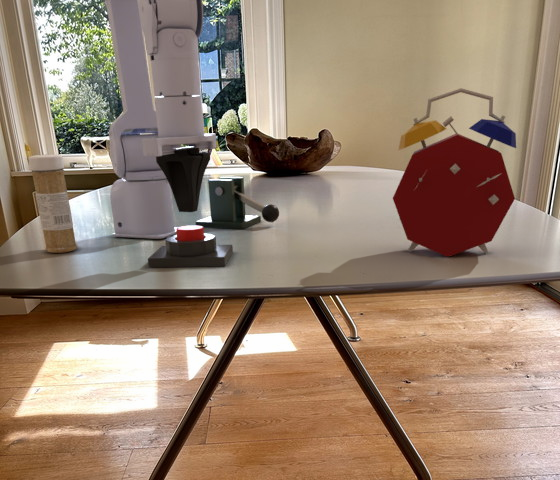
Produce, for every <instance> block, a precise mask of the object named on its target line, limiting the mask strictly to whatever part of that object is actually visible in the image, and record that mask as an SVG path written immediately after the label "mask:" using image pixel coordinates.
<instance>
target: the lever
mask: <svg viewBox="0 0 560 480" xmlns="http://www.w3.org/2000/svg"><path fill="white" fill-rule="evenodd" d="M222 180H227V179H222ZM237 188H238V185H236V184H234V196H235V198H236V199H238V200H239V201H241V202H243V203H245V205H246V206H248V207H250V208H252V209H254V210H256V211H257V212H259V213H261V218H262V219H263V220H264V221H265V222H267V223H274V222H276V221H277V220H278V219H279V217H280V210H279V208H278V207H277V205H275V204H272V203H270V204H266V205H264V204H262V203H260V202H259V201H257V200H254V199H253V198H251V197H250V196H247V195H245V193H244V194H242V193H240V192H238V191H237Z"/></svg>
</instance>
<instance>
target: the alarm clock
mask: <svg viewBox="0 0 560 480" xmlns="http://www.w3.org/2000/svg"><path fill="white" fill-rule="evenodd" d="M459 93H462V94H465V95H469V96H473V97H476V98H480V99H484V100H487V101H488V116H489V117H491V118H493V119H495V120H493V119H485V118H481V119H480V120H478V121H477V122H475V123H474V124H473V125H471V126H470V127H468V129H469V130H471V131H473V132H476V133H478V134H480V135H483V136H485V137H487V138H490V139H489V140H488V142H487V144H484V143H481V142H479V141H476V140H475V139H472V138H469V137H467V136H465V135H462V134H459V133H458V132H457V130H456V129H455V128H454V126H453V125H452V124H451V123H452V122H453V121H454V118H453V116H451V115H450V116H449V117H448V118H446V120H444V121H443V122H442V123H440V122H439V121H438V120H436V119H434V120H429V121H425V120H427V119H429V118H430V117H431V108H432V103H433V102H436V101H439V100H442V99H445V98H448V97H451V96H454V95H457V94H459ZM493 109H494V96H491V95H487V94H484V93H480V92H476V91H473V90H469V89H466V88H462V87H461V88H457V89H454V90H452V91H449V92H445V93H443V94H440V95H437V96H434V97H431V98H428V99H427V106H426V112H425V115H423V117H421V118H420V119H419V120H418V117H415V118H413V122H414V123H413V124H412V127H410V128H409V129H407V130H406V131H405V132H404V133H403V134H401V136H400V141H399V145H398V149H397V150H398V151H401V150H403V149H406V148H408V147H411V146H413V145H415V144H418V143H420V142H421V146H422V147H421V148H420V149H417V150H414V151H413V152H412V154H411V157H410V158H409V161H408V163H407V166H406V168H405V170H404V172H403V174H402V176H401V179H400V180H399V183H398V185H397V188H396V190H395V191H394V194H393V196H392V200H393V201H392V202H393V203H394V206H395V209H396V211H397V215H398V217H399V220H400V223H401V225H402V228H403V232H404V234H405V236H406V239H407V240H408V241H409V242H411V243H410V245H409V246H408V249H407V250H408V252H409V253H410V252H413V251H414V250H415V249H416V248H417V247H418V246H421V247H424V248H426V249H427V250H430V251H432V252H435V253H437V254H440V255H441V256H444V257H446V258H449V257H451V256H455V255H457V254H459V253H463V252H465V251H468V250H471V249H474V248H477V247H478V248H479V249H480V250H481V251H482V253H483V254H488V252H489V250H488V248H487V245H486V244H487V243H491V242H492V241H493V240H494V238H495V236H496V234H497V232H498V231H499V228H500V226H502V223H503V221H504V219H505V218H506V216H507V214H508V212H509V211H510V209H511V207H512V205H513V203H514V201H515V200H516V197H515V194H514V191H513V188H512V184H511V181H510V178H509V174H508V170H507V168H506V165H505V161H504V157H503V154H502V152H500V151H499V150H497V149H495V148H494V147H491V146H492V144H493V142H494V141H496V142H499V143H502V144H503V145H506V146H509V147H510V148H514V149H517V133H516V132H515V131H513V129H511V128H510V127H509V126H508V125H506V121H504V120H505V119H506V116H505V115H501V117H499V116H497V115H496V114H494V111H493ZM448 126H450V128H451V129H452V130H453V132H454V134H452V135H449V136H447V137H445V138H443V139H439V140H438V141H436V142H433V143H431V144H429V145H427V144H426V141H425V140H427V139H429V138H431V137H433V136H436V135H438V134H440V133H443V132H444V131H446V130H447V127H448Z"/></svg>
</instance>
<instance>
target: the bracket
mask: <svg viewBox="0 0 560 480" xmlns="http://www.w3.org/2000/svg"><path fill="white" fill-rule="evenodd" d="M222 179H227V180H222ZM244 179H245V178H244V177H243V176H221V177H219V178H218V179H213V178H211V179H208V180H207V182H208V183H207V184H208V196H209V210H210V216H208V217H205V218H202V219H199V220H195V225H198V226H203V229H204V228H206V229H231V230H244V229H245V228H248V227H250V226H253V225H255V224H258V223H260V222H261V221H262V215H247V214H246V204H245V203H243V202H241V201H239V200H238V199H236V198H235V196H234V184H236V185H238V188H237V191H238V192H240V193H242V194H244V195H245V180H244Z"/></svg>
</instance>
